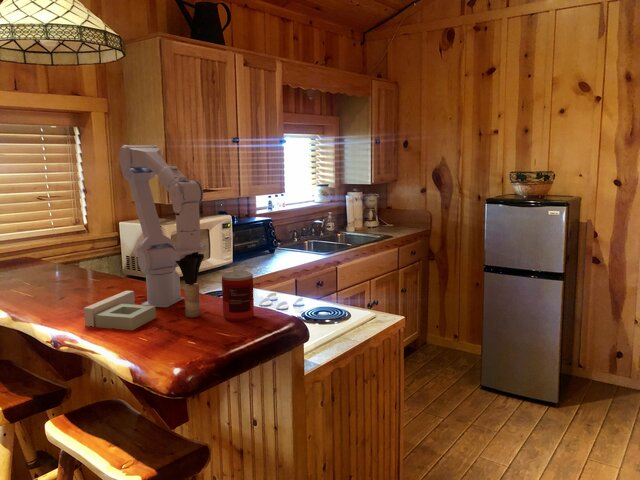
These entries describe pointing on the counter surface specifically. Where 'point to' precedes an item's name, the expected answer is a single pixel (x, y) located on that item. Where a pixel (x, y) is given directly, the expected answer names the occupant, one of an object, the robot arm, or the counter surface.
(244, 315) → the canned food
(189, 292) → the dowel
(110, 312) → the socket block
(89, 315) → the wall board
